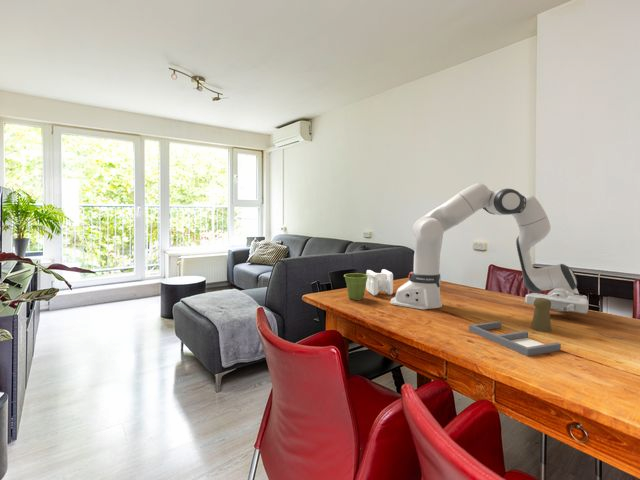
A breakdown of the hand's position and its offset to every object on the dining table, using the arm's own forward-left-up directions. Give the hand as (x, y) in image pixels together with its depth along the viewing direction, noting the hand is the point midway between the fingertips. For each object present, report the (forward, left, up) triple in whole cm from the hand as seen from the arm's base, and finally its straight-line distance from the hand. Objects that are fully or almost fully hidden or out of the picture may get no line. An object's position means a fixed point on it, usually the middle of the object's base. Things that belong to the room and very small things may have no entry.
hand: (550, 306), depth 128 cm
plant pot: (-78, +2, -6) cm, 78 cm away
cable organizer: (-71, +17, -6) cm, 73 cm away
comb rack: (-14, -27, -6) cm, 31 cm away
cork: (-4, -11, -6) cm, 13 cm away
